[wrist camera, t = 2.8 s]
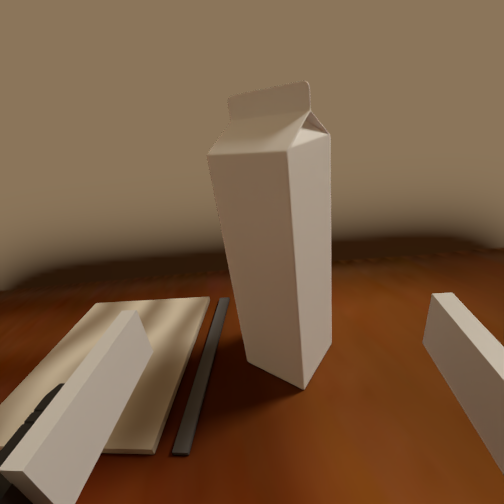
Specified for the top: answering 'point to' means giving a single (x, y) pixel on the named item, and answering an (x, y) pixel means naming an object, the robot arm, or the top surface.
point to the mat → (150, 383)
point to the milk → (277, 227)
